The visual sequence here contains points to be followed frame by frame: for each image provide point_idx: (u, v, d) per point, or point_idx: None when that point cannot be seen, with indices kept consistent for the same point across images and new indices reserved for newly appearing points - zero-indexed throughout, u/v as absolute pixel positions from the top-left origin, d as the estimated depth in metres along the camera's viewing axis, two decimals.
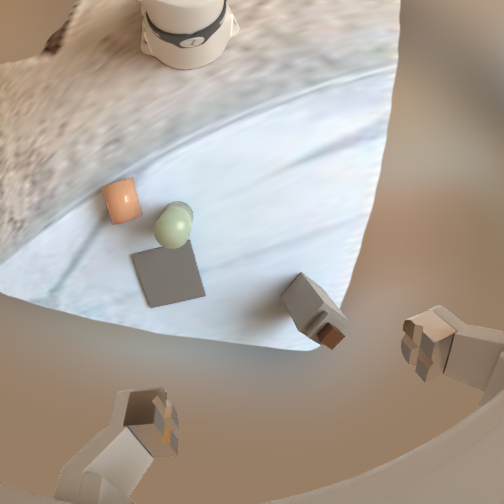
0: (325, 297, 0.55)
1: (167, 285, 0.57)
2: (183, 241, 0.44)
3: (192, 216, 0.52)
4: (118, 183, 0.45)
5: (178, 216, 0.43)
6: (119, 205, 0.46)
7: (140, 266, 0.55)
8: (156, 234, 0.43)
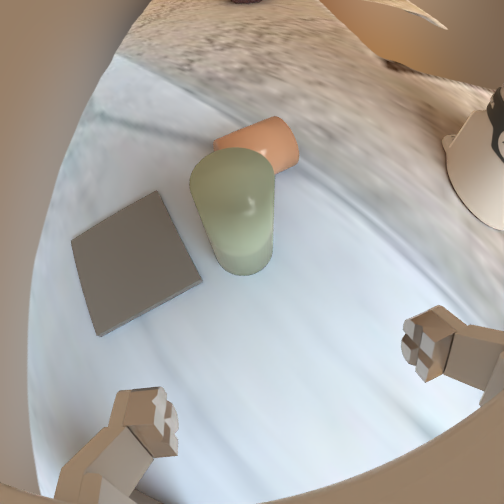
0: None
1: (109, 259, 0.28)
2: (212, 206, 0.18)
3: (254, 265, 0.26)
4: (292, 139, 0.28)
5: (270, 181, 0.18)
6: (257, 144, 0.27)
7: (139, 206, 0.31)
8: (216, 154, 0.20)
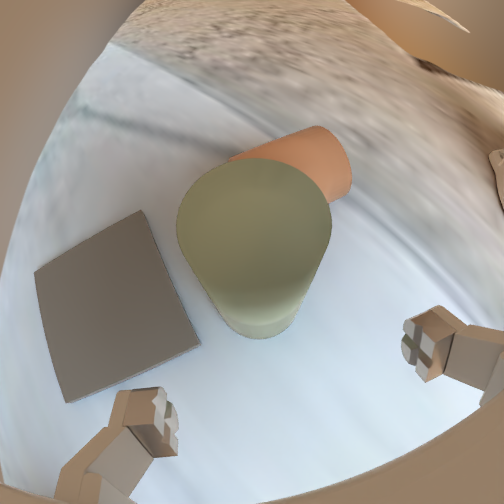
0: None
1: (77, 304, 0.20)
2: (219, 273, 0.10)
3: (275, 331, 0.17)
4: (348, 183, 0.20)
5: (323, 226, 0.10)
6: None
7: (117, 232, 0.22)
8: (225, 170, 0.11)
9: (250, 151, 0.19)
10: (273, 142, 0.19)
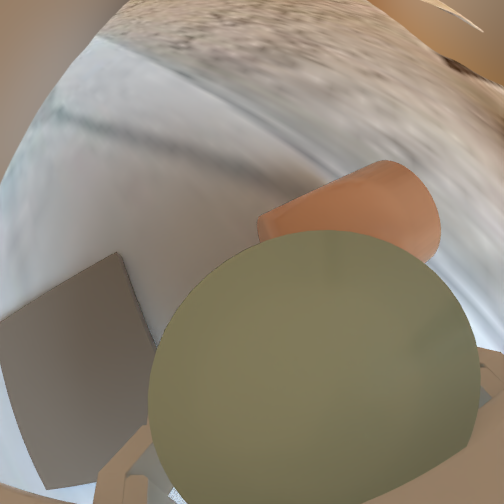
0: None
1: (44, 378, 0.13)
2: None
3: None
4: None
5: (469, 399, 0.03)
6: None
7: (86, 283, 0.15)
8: (261, 263, 0.05)
9: None
10: (365, 219, 0.11)
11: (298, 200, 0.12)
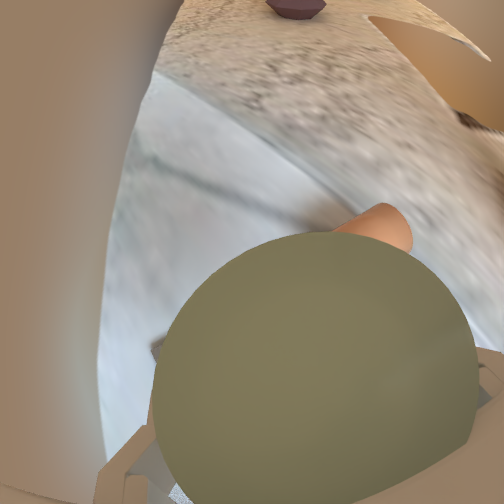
0: None
1: None
2: None
3: None
4: (404, 222, 0.24)
5: (468, 397, 0.04)
6: (372, 232, 0.24)
7: None
8: (264, 264, 0.05)
9: None
10: None
11: None
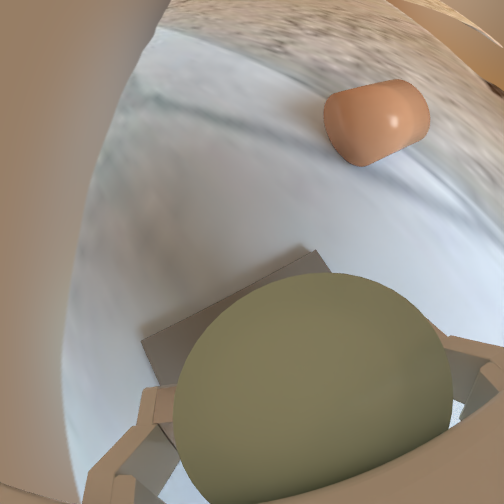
0: None
1: None
2: None
3: None
4: None
5: (441, 416, 0.04)
6: None
7: None
8: (267, 303, 0.05)
9: (380, 158, 0.20)
10: (394, 152, 0.20)
11: (392, 132, 0.18)
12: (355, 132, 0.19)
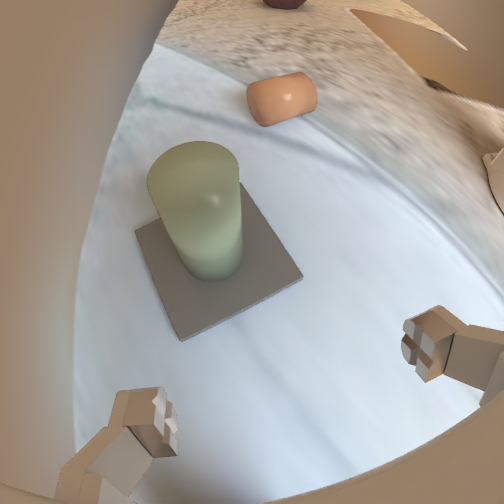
0: None
1: None
2: (168, 202, 0.16)
3: (220, 271, 0.24)
4: None
5: (233, 177, 0.17)
6: None
7: None
8: (179, 148, 0.18)
9: (279, 103, 0.31)
10: (291, 100, 0.32)
11: (272, 84, 0.31)
12: (259, 101, 0.33)
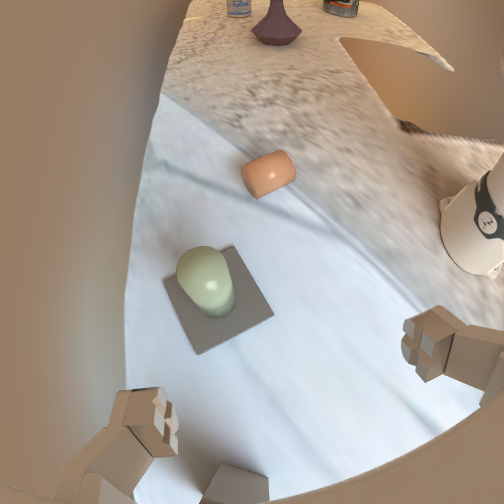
0: None
1: None
2: (189, 288, 0.30)
3: (221, 313, 0.38)
4: None
5: (224, 273, 0.31)
6: None
7: None
8: (193, 251, 0.32)
9: (265, 188, 0.45)
10: (275, 184, 0.46)
11: (262, 172, 0.44)
12: (250, 181, 0.46)
